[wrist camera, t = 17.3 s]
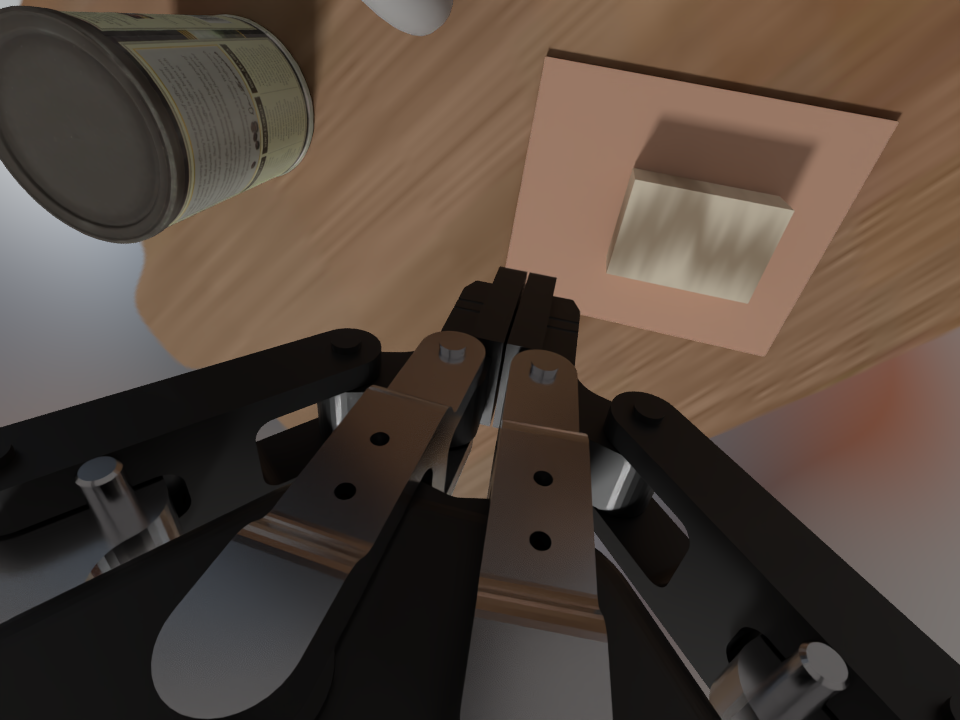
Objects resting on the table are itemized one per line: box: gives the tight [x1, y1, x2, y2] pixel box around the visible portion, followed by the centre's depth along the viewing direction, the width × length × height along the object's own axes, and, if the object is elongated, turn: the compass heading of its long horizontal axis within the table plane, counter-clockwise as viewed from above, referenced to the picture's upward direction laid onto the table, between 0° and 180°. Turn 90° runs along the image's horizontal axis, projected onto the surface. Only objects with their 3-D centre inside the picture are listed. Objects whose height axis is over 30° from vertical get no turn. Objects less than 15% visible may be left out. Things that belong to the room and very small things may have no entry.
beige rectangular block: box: [606, 168, 795, 304], centre depth 32 cm, size 6×3×9 cm
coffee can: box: [0, 6, 314, 244], centre depth 29 cm, size 10×10×14 cm
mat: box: [506, 56, 899, 357], centre depth 33 cm, size 16×20×1 cm
